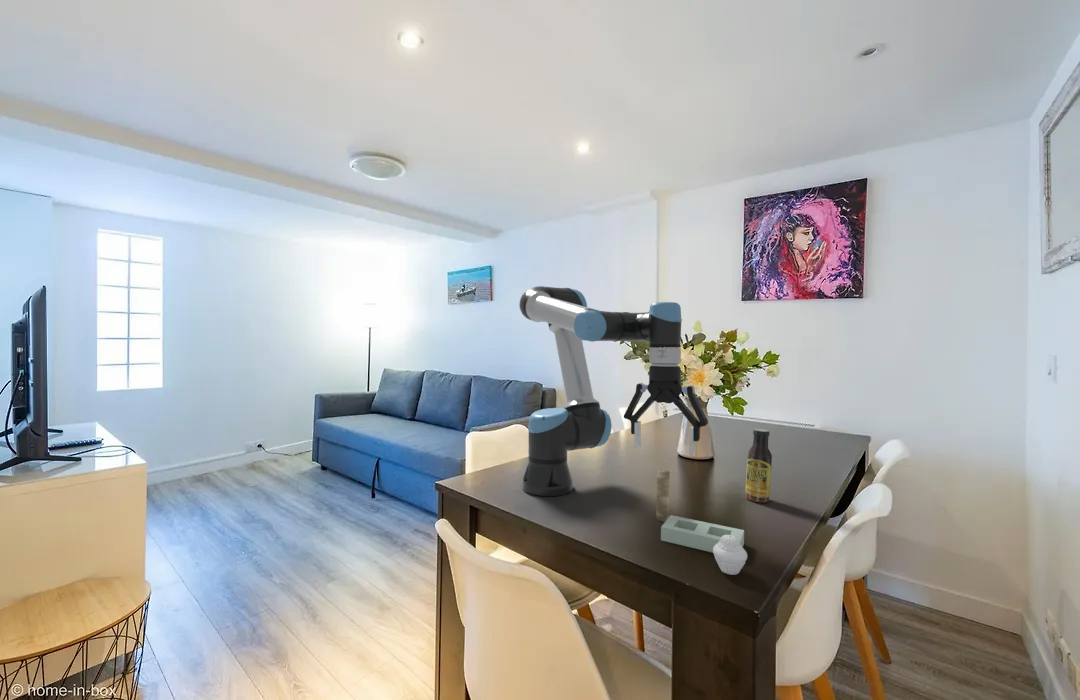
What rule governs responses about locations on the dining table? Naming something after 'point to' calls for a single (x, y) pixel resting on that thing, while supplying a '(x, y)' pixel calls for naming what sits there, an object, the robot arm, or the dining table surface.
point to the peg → (662, 495)
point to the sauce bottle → (759, 468)
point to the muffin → (729, 554)
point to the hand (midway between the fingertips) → (664, 450)
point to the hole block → (696, 533)
